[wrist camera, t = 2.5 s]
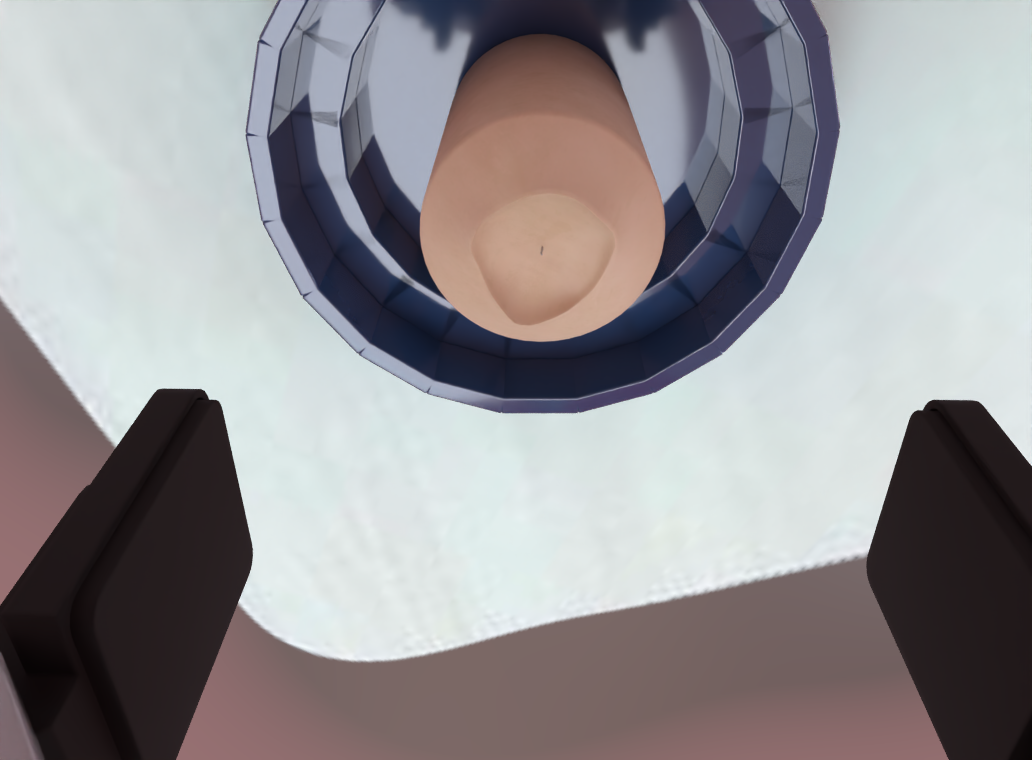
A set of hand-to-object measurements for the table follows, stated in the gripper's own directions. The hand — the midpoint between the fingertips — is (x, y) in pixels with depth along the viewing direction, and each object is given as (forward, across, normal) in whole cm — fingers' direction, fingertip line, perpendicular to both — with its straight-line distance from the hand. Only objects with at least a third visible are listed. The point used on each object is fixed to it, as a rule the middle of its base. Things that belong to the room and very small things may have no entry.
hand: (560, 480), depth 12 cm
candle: (+17, 0, 0) cm, 17 cm away
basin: (+18, 0, 0) cm, 18 cm away
